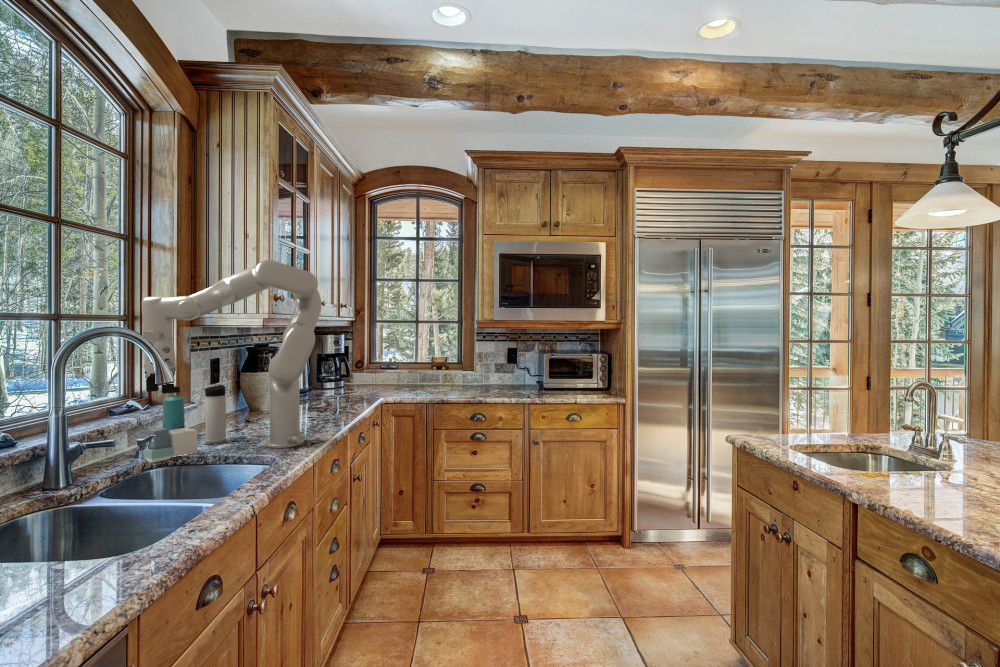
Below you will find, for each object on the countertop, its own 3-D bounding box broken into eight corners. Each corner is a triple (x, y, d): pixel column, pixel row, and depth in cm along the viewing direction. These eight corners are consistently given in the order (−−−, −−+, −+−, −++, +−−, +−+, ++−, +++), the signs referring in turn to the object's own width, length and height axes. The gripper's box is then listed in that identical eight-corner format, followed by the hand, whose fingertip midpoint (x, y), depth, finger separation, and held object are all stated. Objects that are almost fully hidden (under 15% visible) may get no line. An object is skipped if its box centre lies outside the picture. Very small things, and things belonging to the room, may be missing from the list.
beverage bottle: (182, 444, 168) (182, 387, 167) (160, 446, 165) (159, 387, 165) (187, 440, 174) (186, 385, 173) (165, 442, 171) (164, 385, 171)
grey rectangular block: (169, 454, 150) (168, 429, 150) (154, 457, 147) (154, 431, 146) (162, 453, 152) (162, 427, 152) (148, 456, 149) (147, 430, 149)
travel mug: (230, 440, 173) (230, 385, 173) (218, 445, 166) (217, 387, 166) (214, 440, 174) (213, 384, 173) (201, 444, 167) (200, 387, 167)
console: (197, 453, 156) (197, 430, 156) (151, 462, 145) (151, 437, 145) (186, 450, 159) (186, 427, 159) (141, 459, 148) (140, 435, 148)
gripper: (185, 336, 148) (187, 392, 148) (158, 336, 157) (160, 389, 157) (158, 337, 141) (160, 395, 142) (131, 337, 150) (133, 392, 151)
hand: (160, 392), depth 149 cm, fingers open, 9 cm apart
